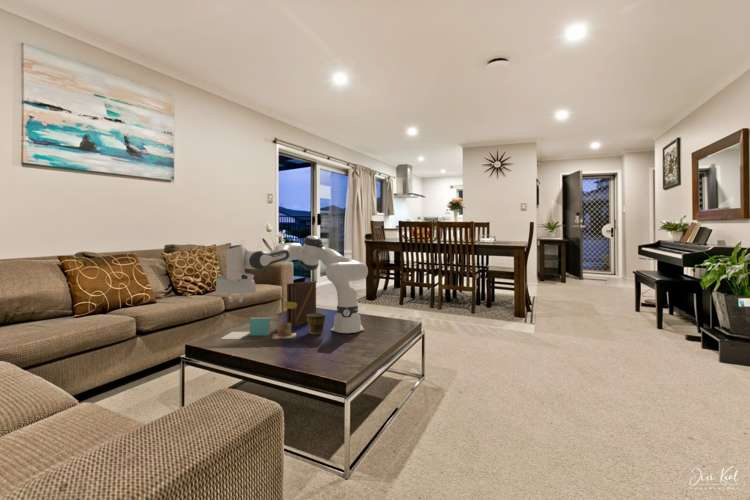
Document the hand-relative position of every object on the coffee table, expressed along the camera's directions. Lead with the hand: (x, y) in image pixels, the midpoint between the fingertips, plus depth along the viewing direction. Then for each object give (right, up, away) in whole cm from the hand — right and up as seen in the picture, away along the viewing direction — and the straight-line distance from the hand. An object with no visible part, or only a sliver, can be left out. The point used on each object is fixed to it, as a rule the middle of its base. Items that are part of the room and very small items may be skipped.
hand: (235, 301), depth 188 cm
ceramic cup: (+41, -18, +5) cm, 45 cm away
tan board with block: (+26, -18, -2) cm, 32 cm away
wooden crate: (+28, -18, +30) cm, 45 cm away
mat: (0, -18, 0) cm, 18 cm away
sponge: (+12, -18, +2) cm, 22 cm away
